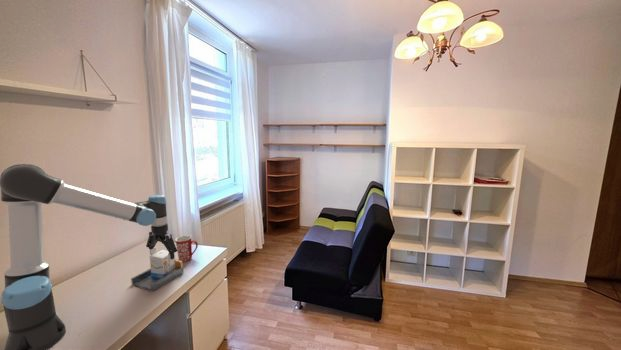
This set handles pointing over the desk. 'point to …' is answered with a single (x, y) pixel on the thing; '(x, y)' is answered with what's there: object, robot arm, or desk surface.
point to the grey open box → (153, 283)
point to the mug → (185, 247)
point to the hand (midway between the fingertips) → (162, 262)
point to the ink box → (161, 264)
